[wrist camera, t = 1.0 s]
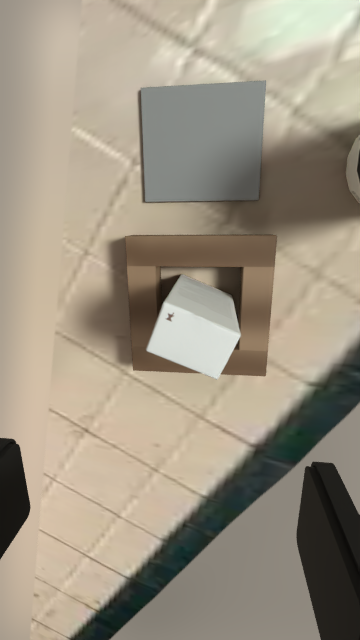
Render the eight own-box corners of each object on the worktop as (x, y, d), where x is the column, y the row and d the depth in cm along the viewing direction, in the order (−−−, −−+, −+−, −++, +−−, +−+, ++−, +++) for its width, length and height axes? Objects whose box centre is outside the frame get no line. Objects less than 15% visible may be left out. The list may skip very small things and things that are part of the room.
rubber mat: (141, 89, 28) (140, 87, 28) (265, 82, 27) (266, 80, 27) (146, 202, 31) (145, 201, 31) (258, 200, 30) (258, 199, 30)
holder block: (133, 235, 32) (125, 236, 29) (271, 234, 31) (276, 235, 28) (139, 358, 36) (133, 370, 34) (261, 363, 35) (265, 376, 32)
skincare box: (167, 308, 34) (142, 350, 23) (181, 272, 33) (162, 299, 22) (217, 329, 34) (218, 382, 23) (234, 295, 33) (243, 333, 22)
